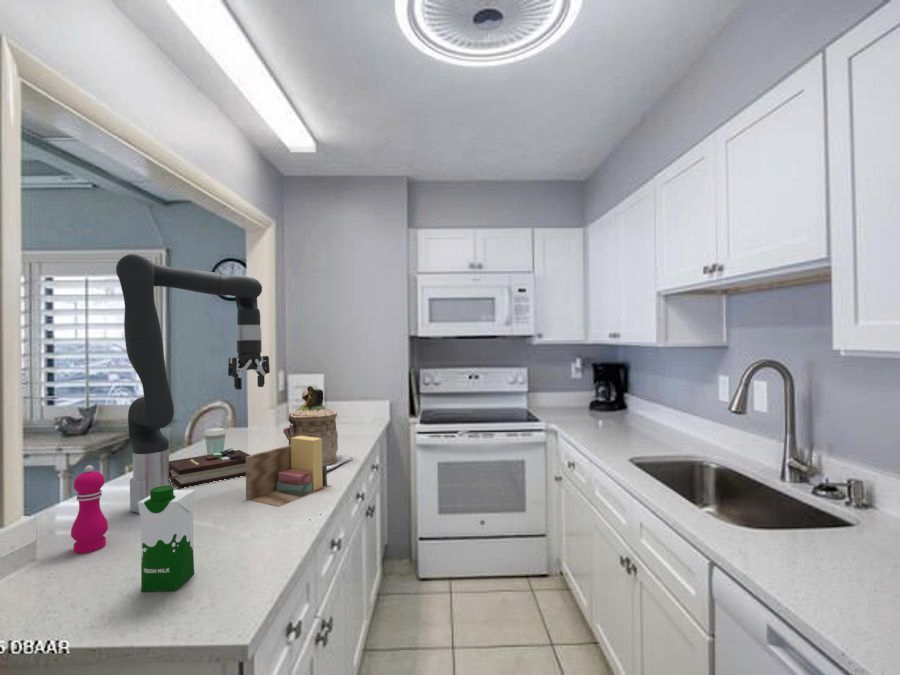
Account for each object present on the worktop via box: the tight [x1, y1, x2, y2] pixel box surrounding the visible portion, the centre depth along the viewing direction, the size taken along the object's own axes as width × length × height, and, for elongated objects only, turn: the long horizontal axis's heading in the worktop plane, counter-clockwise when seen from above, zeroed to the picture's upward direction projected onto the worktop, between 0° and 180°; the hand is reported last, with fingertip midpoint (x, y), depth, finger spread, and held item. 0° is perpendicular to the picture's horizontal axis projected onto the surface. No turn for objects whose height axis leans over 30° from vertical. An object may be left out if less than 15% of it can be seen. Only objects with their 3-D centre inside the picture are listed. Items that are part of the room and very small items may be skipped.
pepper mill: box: [70, 464, 109, 554], centre depth 116 cm, size 7×7×20 cm
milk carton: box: [138, 485, 196, 593], centre depth 99 cm, size 9×9×20 cm
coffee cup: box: [203, 427, 227, 455], centre depth 206 cm, size 8×8×12 cm
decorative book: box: [169, 448, 251, 489], centre depth 177 cm, size 19×8×30 cm
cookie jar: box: [282, 385, 354, 472], centre depth 192 cm, size 25×25×32 cm
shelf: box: [245, 444, 331, 508], centre depth 152 cm, size 22×14×14 cm, turn 151°
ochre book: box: [291, 436, 323, 491], centre depth 158 cm, size 4×10×16 cm, turn 61°
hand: (249, 388), depth 158 cm, fingers open, 8 cm apart
